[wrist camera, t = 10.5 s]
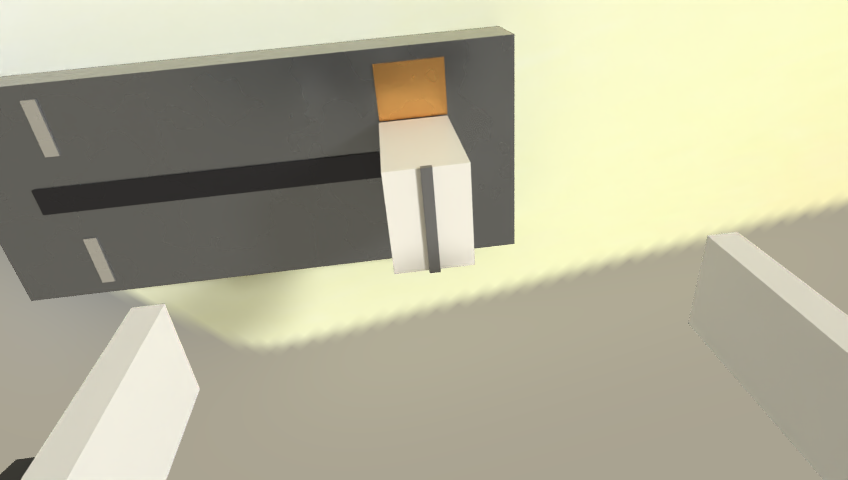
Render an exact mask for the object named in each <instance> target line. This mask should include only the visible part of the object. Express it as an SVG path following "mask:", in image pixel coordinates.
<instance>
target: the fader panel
mask: <svg viewBox="0 0 848 480" xmlns="http://www.w3.org/2000/svg"><path fill="white" fill-rule="evenodd" d="M446 115H447V116H448V118H449V120H450V122H451V124H452V126H453V128H454V130H455V132H456V134H457V136H458V138H459V140H460V142H461V144H462V146H463V148H464V150H465V152H466V154H467V156H468V159H469V161H470V163H471V186H472V209H473V232H474V248H482V247H491V246H499V245H507V244H514V34H513V33H511V32H509V31H507V30H505V29H503V28H501V27H500V26H494V27H485V28H475V29H465V30H455V31H445V32H435V33H426V34H416V35H406V36H396V37H386V38H376V39H367V40H357V41H347V42H337V43H327V44H317V45H308V46H298V47H288V48H278V49H268V50H258V51H249V52H239V53H229V54H219V55H209V56H199V57H190V58H180V59H170V60H160V61H150V62H140V63H131V64H121V65H111V66H101V67H91V68H81V69H72V70H62V71H52V72H42V73H32V74H22V75H13V76H3V77H0V244H1V246H2V248H3V250H4V252H5V254H6V255H7V257H8V259H9V261H10V263H11V264H12V266H13V268H14V270H15V272H16V274H17V275H18V277H19V279H20V281H21V283H22V285H23V286H24V288H25V290H26V292H27V294H28V295H29V297H30V299H31V301H33V300H41V299H50V298H59V297H68V296H76V295H83V294H92V293H101V292H110V291H118V290H127V289H135V288H144V287H152V286H161V285H169V284H178V283H186V282H194V281H203V280H211V279H220V278H228V277H237V276H245V275H254V274H262V273H271V272H279V271H288V270H296V269H304V268H313V267H321V266H330V265H338V264H347V263H355V262H364V261H372V260H381V259H389V258H392V252H391V244H390V236H389V229H388V221H387V214H386V206H385V199H384V191H383V183H382V176H381V160H380V139H379V123H381V122H390V121H400V120H409V119H418V118H428V117H437V116H446Z"/></svg>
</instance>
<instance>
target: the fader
mask: <svg viewBox="0 0 848 480" xmlns="http://www.w3.org/2000/svg"><path fill="white" fill-rule="evenodd" d="M379 139H380V160H381V176H382V183H383V191H384V199H385V206H386V214H387V221H388V229H389V236H390V244H391V252H392V259H393V267H394V274H399V273H407V272H416V271H424V270H429V271H430V273H435V272H441V268H449V267H458V266H466V265H474V264H475V256H474V232H473V209H472V186H471V163H470V161H469V159H468V156H467V154H466V152H465V150H464V148H463V146H462V144H461V142H460V140H459V138H458V136H457V134H456V132H455V130H454V128H453V126H452V124H451V122H450V120H449V118H448V116H447V115H446V116H437V117H428V118H418V119H409V120H400V121H390V122H381V123H379Z"/></svg>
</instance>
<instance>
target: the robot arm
mask: <svg viewBox="0 0 848 480" xmlns="http://www.w3.org/2000/svg"><path fill="white" fill-rule="evenodd" d="M688 324H689V325H690V326H691V327H692V329H693V330H694V331H695V332H696V333H697V334H698V335H699V336H700V338H701V339H702V340H703V341H704V342H705V344H706V345H707V346H708V347H709V348H710V349H711V350H712V352H713V353H714V354H715V355H716V356H717V358H718V359H719V360H720V361H721V362H722V363H723V364H724V366H725V367H726V368H727V369H728V370H729V371H730V373H731V374H732V375H733V376H734V377H735V378H736V379H737V380H738V382H739V383H740V384H741V385H742V386H743V388H744V389H745V390H746V391H747V392H748V393H749V394H750V396H751V397H752V398H753V399H754V400H755V401H756V403H757V404H758V405H759V406H760V407H761V408H762V410H763V411H764V412H765V413H766V414H767V415H768V417H769V418H770V419H771V420H772V421H773V422H774V423H775V424H776V426H777V427H778V428H779V429H780V430H781V432H782V433H783V434H784V435H785V436H786V437H787V438H788V440H789V441H790V442H791V443H792V444H793V445H794V446H795V448H796V449H797V450H798V451H799V452H800V453H801V455H802V456H803V457H804V458H805V459H806V460H807V462H808V463H809V464H810V465H811V466H812V467H813V469H814V470H815V471H816V472H817V473H818V474H819V475H820V477H821V478H822V479H823V480H848V315H846V314H845V313H843V312H842V311H841V310H840V309H838V308H837V307H836V306H834V305H833V304H832V303H831V302H829V301H828V300H827V299H825V298H824V297H823V296H821V295H820V294H819V293H817V292H816V291H814V290H813V289H812V288H811V287H809V286H808V285H807V284H805V283H804V282H803V281H801V280H800V279H799V278H798V277H796V276H795V275H794V274H792V273H791V272H789V271H788V270H787V269H786V268H784V267H783V266H782V265H780V264H779V263H778V262H777V261H775V260H774V259H773V258H771V257H770V256H769V255H767V254H766V253H765V252H763V251H762V250H761V249H759V248H758V247H757V246H755V245H754V244H753V243H752V242H750V241H749V240H748V239H746V238H745V237H744V236H742V235H741V234H740V233H738V232H732V233H724V234H716V235H708V236H707V240H706V244H705V249H704V254H703V258H702V263H701V267H700V272H699V276H698V281H697V286H696V290H695V295H694V299H693V304H692V308H691V313H690V317H689V322H688ZM199 390H200V388H199V386H198V383H197V381H196V378H195V376H194V373H193V371H192V369H191V366H190V364H189V361H188V359H187V357H186V354H185V352H184V349H183V347H182V344H181V342H180V339H179V337H178V335H177V332H176V330H175V327H174V325H173V322H172V320H171V318H170V315H169V313H168V310H167V308H166V305H165V304H158V305H150V306H142V307H134V308H131V309H130V311H129V312H128V314H127V315H126V317H125V318H124V320H123V322H122V323H121V325H120V326H119V328H118V329H117V331H116V333H115V334H114V336H113V337H112V339H111V340H110V342H109V344H108V345H107V346H106V348H105V350H104V351H103V353H102V354H101V356H100V357H99V359H98V360H97V362H96V364H95V365H94V367H93V368H92V370H91V372H90V373H89V374H88V376H87V378H86V379H85V381H84V382H83V384H82V386H81V387H80V389H79V390H78V392H77V393H76V395H75V396H74V398H73V399H72V401H71V402H70V404H69V406H68V407H67V409H66V410H65V412H64V413H63V415H62V416H61V418H60V419H59V421H58V423H57V424H56V426H55V427H54V429H53V431H52V432H51V433H50V435H49V437H48V438H47V440H46V441H45V443H44V444H43V446H42V448H41V449H40V451H39V452H38V454H37V455H36V457H33V458H25V459H18V460H16V461H14V462H13V463H12V464H11V465H10V466H9V467H8V468H7V469H6V470H5V471H3V472H2V473H1V474H0V480H166V479H167V476H168V473H169V471H170V468H171V465H172V462H173V460H174V457H175V454H176V452H177V449H178V446H179V443H180V441H181V438H182V436H183V433H184V430H185V427H186V425H187V422H188V419H189V417H190V414H191V411H192V409H193V406H194V403H195V400H196V398H197V395H198V392H199Z"/></svg>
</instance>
